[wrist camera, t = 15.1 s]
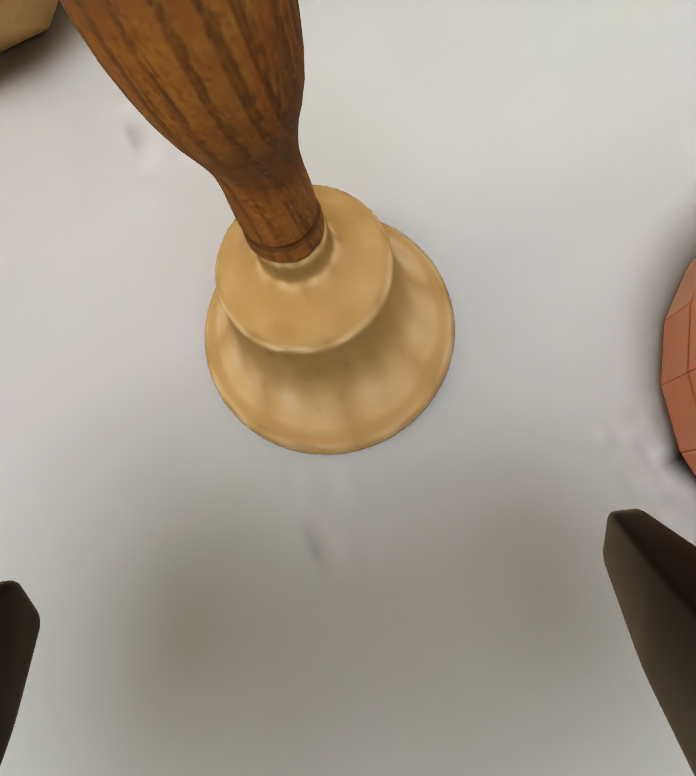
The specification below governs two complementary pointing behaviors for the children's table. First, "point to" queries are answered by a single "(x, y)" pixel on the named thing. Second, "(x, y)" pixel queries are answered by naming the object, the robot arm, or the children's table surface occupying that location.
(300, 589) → the children's table surface
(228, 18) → the hand bell
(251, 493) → the children's table surface
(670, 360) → the bowl
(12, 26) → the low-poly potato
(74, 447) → the children's table surface
